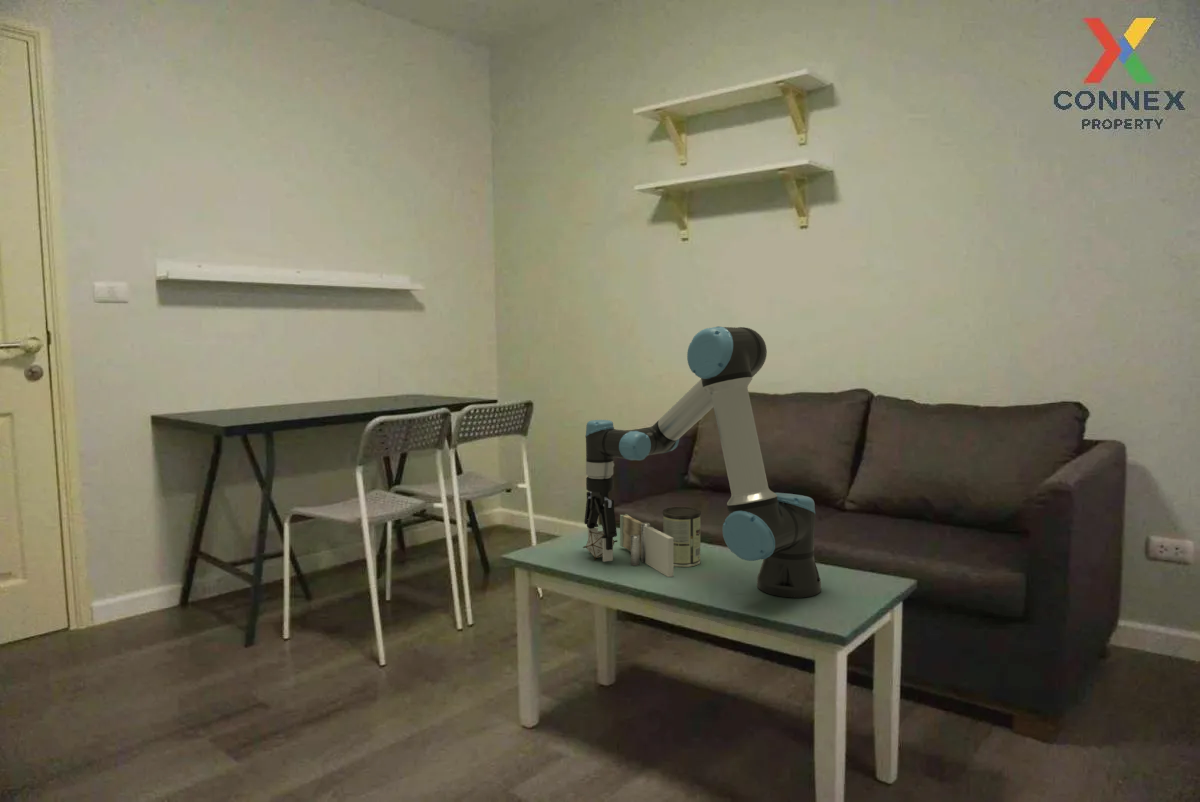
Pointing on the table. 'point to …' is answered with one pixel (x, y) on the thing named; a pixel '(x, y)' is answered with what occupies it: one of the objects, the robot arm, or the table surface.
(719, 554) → the table surface
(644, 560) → the gate post
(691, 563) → the coffee can
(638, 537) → the peg
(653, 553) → the light grey flat panel
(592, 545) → the game die
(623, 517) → the gate
